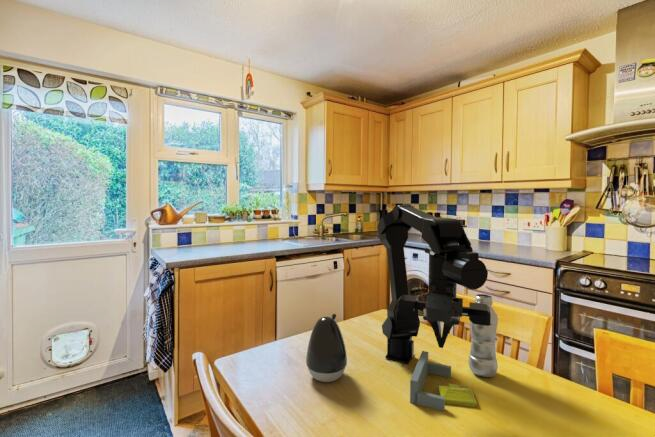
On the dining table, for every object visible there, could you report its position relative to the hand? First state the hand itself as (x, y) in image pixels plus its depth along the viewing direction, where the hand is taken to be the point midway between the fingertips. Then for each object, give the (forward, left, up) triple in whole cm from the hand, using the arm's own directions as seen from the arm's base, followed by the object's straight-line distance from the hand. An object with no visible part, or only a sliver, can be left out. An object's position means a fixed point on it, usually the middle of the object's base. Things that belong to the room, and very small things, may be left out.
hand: (441, 347), depth 70 cm
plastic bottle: (+8, +16, -12) cm, 21 cm away
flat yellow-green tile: (+3, +3, -13) cm, 13 cm away
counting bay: (-2, +4, -12) cm, 13 cm away
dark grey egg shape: (-27, -2, -12) cm, 29 cm away
